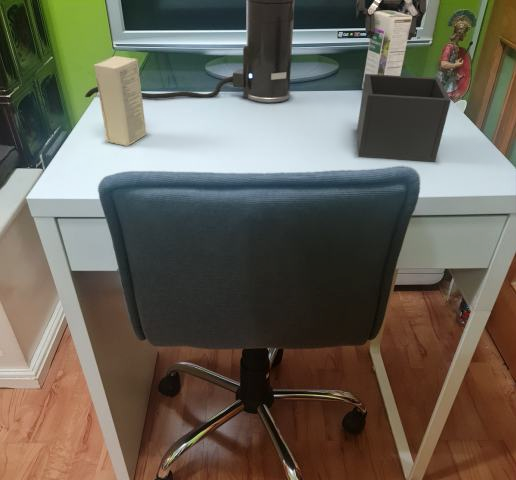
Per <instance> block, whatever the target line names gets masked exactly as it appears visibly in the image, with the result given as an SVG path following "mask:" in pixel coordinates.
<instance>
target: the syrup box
mask: <svg viewBox="0 0 516 480" xmlns="http://www.w3.org/2000/svg"><path fill="white" fill-rule="evenodd" d="M374 15H375V21H374V35H373V38H372V39H369V41H368V49H367V54H366V60H365V66H364V73H363V80H362V85H361V89H362V90H363V86H364V79H365V74H376V75H394V76H402V75H401V73H402V68H403V66H404V65H403V64H404V60H405V54H406V49H407V44H408V41H409V40H408V35H409V30H410V25H411V20H412V16H411V15H406V14H403V13H400V12H399V11H393V10H378V11H377V12H374Z"/></svg>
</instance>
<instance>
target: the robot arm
mask: <svg viewBox="0 0 516 480" xmlns="http://www.w3.org/2000/svg"><path fill="white" fill-rule="evenodd" d="M295 2H296V0H246V15H245V16H246V21H245V22H246V25H245V26H246V27H245V28H246V30H245V31H246V32H245V33H246V34H245V37H246V38H245V39H246V40H245V42H246V44H245V45H243V50H242V67H238V68H237V69H236V70H234V72H232V75H231V76H228V77H225V78H223V79H222V80H220V81H219V82H218V83H217V84H216V87H215V90H214V91H211V92H209V93H200V92H193V91H173V92H164V93H150V92H149V93H147V92H141V94H142V99H143V98H144V99H155V100H156V99H170V98H179V97H180V98H181V97H188V98H189V97H190V98H196V99H210V98H214V97H216V96H218V95H219V94H220V92H221V88H222V87H223V86H224V85H226V84H228V83H230V82H232V87H233V88H239V89H242V98H243V99H249V100H251V101H253V102H259V103H266V104H267V103H270V104H271V103H279V102H284V101H287V100H289V99H290V97H291V95H290V94H291V91H290V89H291V74H292V73H291V72H292V71H291V70H292V55H293V54H292V51H293V37H294V35H293V34H294V19H295V18H294V17H295ZM414 2H416V7H415V6H414V4H413V0H373V2H372V3H371V5H370V7H368V8H367V7H366V0H356V18H357V19H359V20H361V19H363V20H364V21H365V35H366V36H367V37H368V39H369V40H370V39H372V38H373V35H374V21H375V15H374V12H377V11H380V9H381V11H383V10H390V11H396V12H399V13H403V14H406V15H411V16H412V20H411V25H410V30H409V35H408V40H407V41H411V40H412V38H414V36H415V34H416V32H417V21H418V22H422V20H423V19H424V16H425V14H426V13H427V0H414ZM96 93H99V91H98V86H96V87H93V88H90V90H88V92H86V94H85V96H84V98H90V97H92V96H93V95H94V94H96Z"/></svg>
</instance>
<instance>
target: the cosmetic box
mask: <svg viewBox="0 0 516 480" xmlns="http://www.w3.org/2000/svg"><path fill="white" fill-rule="evenodd" d="M93 68H94V74H95V78H96V85H97V86H96V87H98V91H99V92H98V97H99V102H100V109H101V112H102V120H103V125H104V132H105V137H106V142H107V143H111V144H114V145H115V144H116V145H121V146H125V147H128V146H130V145H132V144H133V143H135V142H137V141H138V140H140V139H142V138H143V137H145V136H146V135H147V128H146V119H145V112H144V103H143V98H142V94H141V93H142V87H141V79H140V70H139V61H138V58H132V57H127V56H119V55H114V56H111V57H109V58H107V59H104V60H101V61H99V62H97V63H94V64H93Z"/></svg>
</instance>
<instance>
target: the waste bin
mask: <svg viewBox="0 0 516 480" xmlns="http://www.w3.org/2000/svg"><path fill="white" fill-rule="evenodd" d="M363 79H364V78H363ZM361 93H362V94H361V100H360V107H359V113H358V120H357V127H356V138H357V140H356V141H357V155H358V157H360V158H374V159H388V160H399V161H415V162H416V161H417V162H430V163H435V162H436V159H437V157H438V152H439V148H440V145H441V140H442V136H443V132H444V129H445V125H446V121H447V118H448V114H449V110H450V105H451V101H452V100H451V97H450V96H449V94H448V92H447V90H446V88H445V86H444V84H443V83H442V81H441V79H440V77H428V76H409V75H400V76H394V75H376V74H365V79H364V86H363V89H362V92H361Z"/></svg>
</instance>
